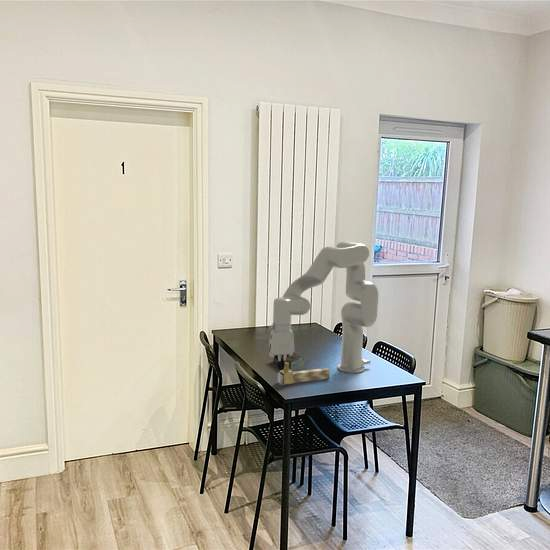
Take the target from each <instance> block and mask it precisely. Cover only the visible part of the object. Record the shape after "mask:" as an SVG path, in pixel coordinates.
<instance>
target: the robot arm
mask: <svg viewBox="0 0 550 550" xmlns="http://www.w3.org/2000/svg"><path fill="white" fill-rule="evenodd" d="M369 257H370V249H369V247H368V246H367V245H365V244H364V243H359V242H358V243H357V242H351V241H341V242H338V243H337V244H336V247H335V246H325V247H323V248H322V249H321V250H320V251H319V253H318V254H317V256H316V258H315V259H314V260H313V262H312V263H311V265H310V266H309V268H308V270H307V271H306V272H305V273H304V274H302V275H300V276H299V277H298V278H297V279H296V280H294V281H293V282H292V283H290V285H289V286H288V287H287V289H286V290H285V292H284V293H283V295H282V297H277V298H274V300H273V309H272V310H273V312H272V313H273V314H272V315H273V316H272V324H270V325H269V328H270V330H271V332H270V334H269V342H268V343H269V344H268V352H269V353H268V356H269V358H275V359H276V360H277V364H276V368H277V370H279V371H280V370H284V367H285V361H286V359H287V357H288V356H291V355H293V353H295V338H294V331H293V330H292V316H302V315H306V314H308V313H309V312H310V310H311V303H310V301H309V300H308V299H307V298H305V297H303V296H301V295H302V294H303V293H305V292H306V291H307V290H308V289H312V288H315V287H318V286H321V285H323V284H324V283H325V280H326V279H327V278H328V277H329V274H330V273H331V271H332V270H333V268H336V269H338V268H339V269H345V268H346V277H345V278H346V279H345V295H346V297H347V298H348V299H350V300H354V301H349V302H346V303H345V304H343V306H342V307H341V311H340V312H341V313H340V316H341V323H342V333H341V334H342V335H341V336H342V337H341V352H340V353H341V355H340V356H341V357H340V363H338V364H337V370H339V371H341V372H344V373H349V374H359V373H362V372H364V371H365V369H366V368H365V365H371V362H372V361H371V360H370V359H367V360H366V359H365V358H364V359H362V358H363V343H364V342H363V339H364V330H363V327H365V328H371V327H372V326H374V324H375V323H376V321H377V317H378V307H379V290H378V288H377V285H376V284H374V283H373V282H371V281H366V266H365V262H366V261H367V260H368V258H369ZM359 302H360V303H359ZM280 355H281V356H280Z"/></svg>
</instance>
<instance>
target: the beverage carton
mask: <svg viewBox="0 0 550 550" xmlns="http://www.w3.org/2000/svg"><path fill="white" fill-rule="evenodd" d="M280 356H281V355H280ZM272 358H273V357H272ZM273 362H274V363H275V364H276V365H277V360H276V359H275V358H273ZM285 362H287V363H289V369H290V370H291V371H292V372H294V371H304V370H306V359H305V358H303V357H301V356H300V355H298V354H297V353H296V352H294V353H293V355H291V356H288V357H287V359H286V361H285Z"/></svg>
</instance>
